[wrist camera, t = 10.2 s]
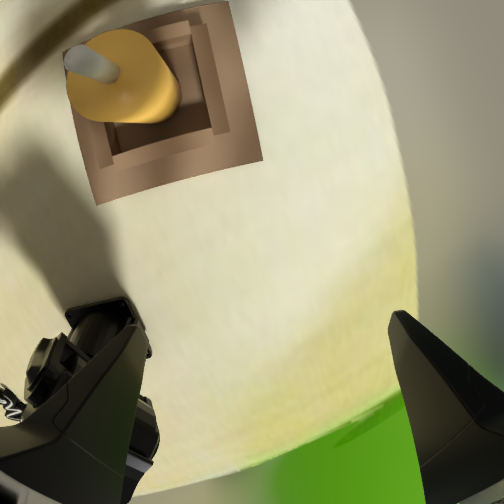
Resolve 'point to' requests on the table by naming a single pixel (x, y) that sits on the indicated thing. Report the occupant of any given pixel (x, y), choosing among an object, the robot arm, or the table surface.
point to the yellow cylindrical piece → (121, 80)
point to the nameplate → (12, 405)
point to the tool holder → (178, 111)
